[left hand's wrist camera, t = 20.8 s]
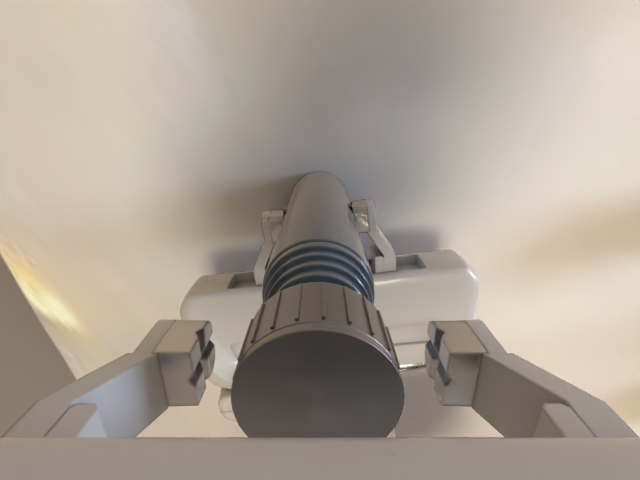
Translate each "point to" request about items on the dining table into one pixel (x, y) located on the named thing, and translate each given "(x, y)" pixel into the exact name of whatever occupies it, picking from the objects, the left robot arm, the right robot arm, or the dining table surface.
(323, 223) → the bottle
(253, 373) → the cap
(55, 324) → the dining table surface
